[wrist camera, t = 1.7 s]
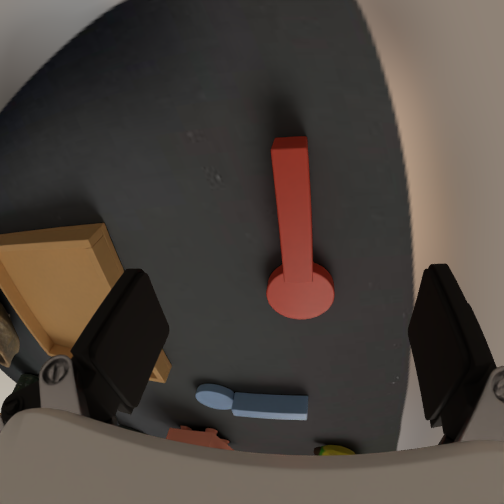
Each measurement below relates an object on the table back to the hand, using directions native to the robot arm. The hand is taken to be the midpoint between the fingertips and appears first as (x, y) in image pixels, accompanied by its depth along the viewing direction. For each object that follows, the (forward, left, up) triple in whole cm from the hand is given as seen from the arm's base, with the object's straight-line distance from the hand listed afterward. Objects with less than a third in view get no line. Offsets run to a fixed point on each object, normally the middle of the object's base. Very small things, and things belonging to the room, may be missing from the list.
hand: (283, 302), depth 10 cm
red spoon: (+2, 0, -7) cm, 7 cm away
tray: (+8, -20, -7) cm, 22 cm away
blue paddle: (+20, -5, -7) cm, 22 cm away
